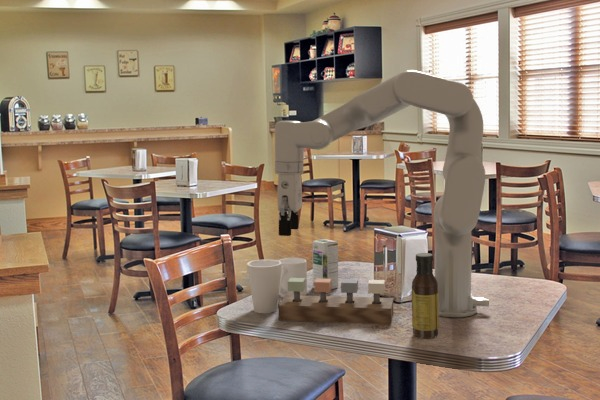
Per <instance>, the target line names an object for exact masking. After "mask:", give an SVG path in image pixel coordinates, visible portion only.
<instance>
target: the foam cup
mask: <svg viewBox="0 0 600 400" xmlns="http://www.w3.org/2000/svg"><path fill="white" fill-rule="evenodd" d="M278 260H279V259H278ZM278 260H277V259H265V258H263V259H256V260H255V259H254V260H250V261H248V262H247V263H246V268H247V269H246V271H247V275H248V281H249V287H250V293H251V300H252V305H253V310H254V312H255V313H257V312H258V313H259V314H270V313H271V314H272V313H275V312H277V311H278V305H279V297H280V295H279V288H280V278H281V272H282V263H281V261H278Z"/></svg>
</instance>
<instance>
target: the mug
mask: <svg viewBox="0 0 600 400" xmlns="http://www.w3.org/2000/svg"><path fill="white" fill-rule="evenodd" d="M278 261H281V263H282V272H281V278H280V288H279V297H280V298H282V299H283V298H284V297H285V296H286V295H294V291H288V281H289V279H290V278H305V285H306V288H305V289H304V291H303V292H300V296H307V294H308V282H307V281H308V277H307V276H308V275H307V272H308V271H307V269H308V268H307V259H305V258H302V257H285V258H281V259H278Z"/></svg>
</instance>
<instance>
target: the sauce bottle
mask: <svg viewBox="0 0 600 400" xmlns="http://www.w3.org/2000/svg"><path fill="white" fill-rule="evenodd" d="M415 261H416V262H415V263H416V270H415V271H416V274H415V276H414V278H413V279H412V281H411V282H412V283H411V316H412V317H411V318H412V320H411V321H412V322H411V325H412V334H413V335H414V336H415V337H416V338H419V339H429V340H431V339H433V338H437V336H438V335H439V327H440V324H439V321H440V320H439V319H440V316H439V313H438V283H437V280H436V278H435V274H434V269H433V265H434V264H433V261H434V254H432V253H431V252H430V253H428V252H419V253H416V254H415Z"/></svg>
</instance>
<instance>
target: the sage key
mask: <svg viewBox="0 0 600 400" xmlns="http://www.w3.org/2000/svg"><path fill="white" fill-rule="evenodd" d="M305 288H306V285H305V278H290V279H289V281H288V291H294V302H300V292H303V291H304V289H305Z"/></svg>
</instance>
